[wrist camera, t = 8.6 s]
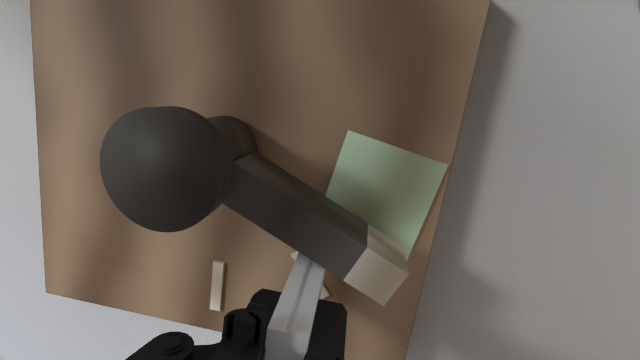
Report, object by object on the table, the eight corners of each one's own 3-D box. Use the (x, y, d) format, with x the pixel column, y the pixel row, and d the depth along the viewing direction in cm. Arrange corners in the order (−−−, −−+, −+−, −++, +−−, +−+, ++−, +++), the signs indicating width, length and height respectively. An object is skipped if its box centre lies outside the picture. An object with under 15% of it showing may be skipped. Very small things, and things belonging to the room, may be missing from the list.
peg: (171, 160, 19) (82, 189, 13) (208, 85, 18) (128, 80, 12) (367, 284, 19) (365, 369, 13) (417, 219, 18) (439, 280, 12)
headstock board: (71, 276, 24) (42, 294, 22) (60, -56, 19) (21, -75, 17) (399, 347, 22) (402, 375, 20) (481, -9, 17) (497, -24, 15)
